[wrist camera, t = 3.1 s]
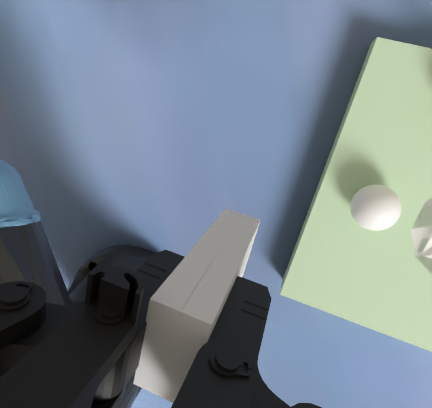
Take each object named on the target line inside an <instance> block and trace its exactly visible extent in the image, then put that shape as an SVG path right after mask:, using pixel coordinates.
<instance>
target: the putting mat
mask: <svg viewBox="0 0 432 408" xmlns="http://www.w3.org/2000/svg"><path fill="white" fill-rule="evenodd" d="M368 185H383V186H386V187H389V188H390V189H392V190H393V191H394V192H395V193H396V194H397V195H398V197H399V198H400V201H401V204H402V211H401V215H400V217H399V219H398V220H397V222H396V223H395V224H394V225H392V226H391V227H389V228H387V229H384V230H380V231H373V230H368V229H365V228H363V227H361V226H360V225H359V224H357V223H356V221H355V220H354V219H353V217H352V215H351V210H350V204H351V201H352V198H353V196H354V195H355V194H356V192H357V191H359V190H360V189H361V188H363V187H365V186H368ZM280 295H283V296H286V297H288V298H291V299H293V300H296V301H299V302H301V303H304V304H307V305H309V306H312V307H315V308H317V309H320V310H323V311H325V312H328V313H331V314H333V315H336V316H338V317H341V318H344V319H346V320H349V321H352V322H354V323H357V324H360V325H362V326H365V327H368V328H370V329H373V330H376V331H378V332H381V333H383V334H386V335H389V336H391V337H394V338H397V339H399V340H402V341H405V342H407V343H410V344H413V345H415V346H418V347H421V348H423V349H426V350H428V351H431V352H432V48H427V47H422V46H418V45H413V44H408V43H403V42H399V41H394V40H389V39H385V38H380V37H377V38H376V39H375V40H374V41H373V42H372V43H371V45H370V47H369V50H368V53H367V55H366V58H365V61H364V63H363V66H362V69H361V71H360V74H359V77H358V79H357V82H356V85H355V87H354V90H353V93H352V95H351V98H350V101H349V103H348V106H347V109H346V111H345V114H344V117H343V119H342V122H341V125H340V127H339V130H338V133H337V135H336V138H335V141H334V143H333V146H332V149H331V151H330V154H329V157H328V159H327V162H326V165H325V167H324V170H323V173H322V175H321V178H320V181H319V183H318V186H317V189H316V191H315V194H314V197H313V199H312V202H311V205H310V207H309V210H308V213H307V216H306V218H305V221H304V224H303V226H302V229H301V232H300V234H299V237H298V240H297V242H296V245H295V248H294V250H293V253H292V256H291V258H290V261H289V264H288V266H287V269H286V272H285V274H284V277H283V280H282V286H281V291H280Z"/></svg>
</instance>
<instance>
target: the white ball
mask: <svg viewBox="0 0 432 408" xmlns="http://www.w3.org/2000/svg"><path fill="white" fill-rule="evenodd" d="M350 210H351V215H352V217H353V219H354V220H355V221H356V223H357V224H359V225H360V226H361V227H363V228H365V229H368V230H373V231H380V230H384V229H387V228H389V227H391V226H392V225H394V224H395V223H396V222H397V220H398V219H399V217H400V215H401V211H402V204H401V201H400V198H399V197H398V195H397V194H396V193H395V192H394V191H393V190H392V189H390V188H389V187H386V186H383V185H368V186H365V187H363V188H361V189H360V190H359V191H357V192H356V194H355V195H354V196H353V198H352V201H351V204H350Z"/></svg>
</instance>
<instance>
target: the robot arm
mask: <svg viewBox="0 0 432 408" xmlns="http://www.w3.org/2000/svg"><path fill="white" fill-rule="evenodd" d="M40 220H41V215H40V212H39V211H38V210H36V209H35V207H34V205H33V203H32V201H31V199H30V196H29V194H28V192H27V190H26V187H25V185H24V183H23V181H22V178H21V176H20V175H19V173H18V171H17V170H16V169H15V168H14V167H13V166H12V165H10V164H9V163H7V162H6V161H4V160H1V159H0V408H130V407H131V405H132V404H133V402H134V400H135V398H136V397H137V395H138V393H139V392H140V390H141V388H143V389H145V390H147V391H150V392H152V393H154V394H156V395H158V396H160V397H162V398H164V399H166V400H168V401H171V402H173V405H172V407H171V408H321V407H319V406H316V405H314V404H311V403H298V404H296V405H294V406H292V407H290V406H289V405H287V404H286V403H285V402H284V401H282V400H281V399H280V398H278V397H277V396H276V395H275V394H274V393H273V392H272V391H271V390H270V389H269V388H268V387H267V385H266V384H265V383H264V381H263V380H262V378H261V376H260V373H259V370H258V365H257V362H258V355H259V350H260V346H261V342H262V337H263V333H264V328H265V324H266V320H267V315H268V311H269V307H270V302H271V296H270V294H269V291H268V288H267V287H266V286H263V285H261V284H258V283H255V282H253V281H250V280H247V279H245V278H242V277H243V274H244V270H245V267H246V264H247V261H248V258H249V255H250V252H251V249H252V245H253V242H254V239H255V236H256V233H257V230H258V227H259V224H260V220H259V219H256V218H253V217H250V216H247V215H244V214H241V213H238V212H235V211H232V210H229V209H226V208H225V210H224V211H223V212H222V213H221V214H220V216H219V217H218V218H217V219H216V220H215V222H214V223H213V224H212V225H211V226H210V228H209V229H208V230H207V231H206V232H205V234H204V235H203V236H202V237H201V238H200V240H199V241H198V242H197V243H196V244H195V246H194V247H193V248H192V249H191V250H190V252H189V253H188V254H187V255H186V256H185V257H184V256H181V255H178V254H176V253H173V252H170V251H168V250H164V251H161V252H158V253H156V254H154V253H152V252H149V251H147V250H144V249H141V248H138V247H133V246H115V247H110V248H107V249H105V250H103V251H101V252H99V253H98V254H97V255H95V256H94V257H92V258H91V259H90V260H88V261H87V262H86V263H85V264H84V265H83V266H82V267H81V268H80V269H79V270H78V272H77V273H76V275H75V277H74V278H73V280H72V281H71V283H70V284H69V286H68V288H67V289H66V286H65V284H64V281H63V278H62V276H61V273H60V271H59V268H58V265H57V263H56V260H55V258H54V255H53V252H52V250H51V247H50V245H49V242H48V239H47V237H46V234H45V232H44V229H43V227H42V224H41V221H40Z"/></svg>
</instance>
